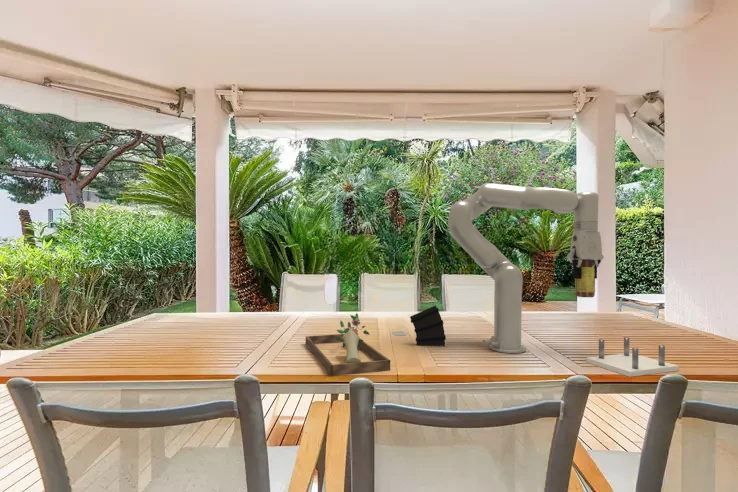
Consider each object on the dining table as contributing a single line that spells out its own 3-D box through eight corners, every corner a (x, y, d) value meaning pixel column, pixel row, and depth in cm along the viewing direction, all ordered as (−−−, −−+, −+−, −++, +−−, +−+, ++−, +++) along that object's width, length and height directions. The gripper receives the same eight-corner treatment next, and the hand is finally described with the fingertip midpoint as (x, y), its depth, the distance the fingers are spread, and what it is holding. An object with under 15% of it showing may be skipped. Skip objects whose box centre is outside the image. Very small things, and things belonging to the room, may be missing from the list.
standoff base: (630, 376, 123) (630, 351, 123) (585, 362, 138) (585, 339, 138) (678, 370, 129) (678, 346, 129) (631, 357, 144) (631, 335, 144)
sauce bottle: (598, 298, 145) (599, 240, 145) (581, 298, 144) (582, 240, 144) (587, 295, 152) (588, 240, 151) (570, 295, 151) (571, 240, 151)
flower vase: (342, 395, 127) (339, 343, 161) (381, 383, 127) (369, 333, 161) (330, 361, 124) (330, 316, 158) (370, 349, 124) (361, 306, 158)
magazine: (453, 342, 157) (436, 306, 158) (421, 356, 159) (405, 320, 160) (453, 340, 161) (436, 304, 162) (421, 353, 163) (405, 318, 163)
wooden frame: (330, 376, 122) (330, 365, 122) (305, 344, 160) (305, 336, 160) (390, 370, 128) (390, 360, 128) (352, 340, 166) (352, 333, 166)
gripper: (574, 226, 142) (573, 279, 142) (613, 227, 147) (612, 279, 147) (558, 227, 149) (557, 277, 149) (595, 228, 154) (594, 277, 154)
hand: (584, 277), depth 148 cm, fingers closed on sauce bottle, 6 cm apart
